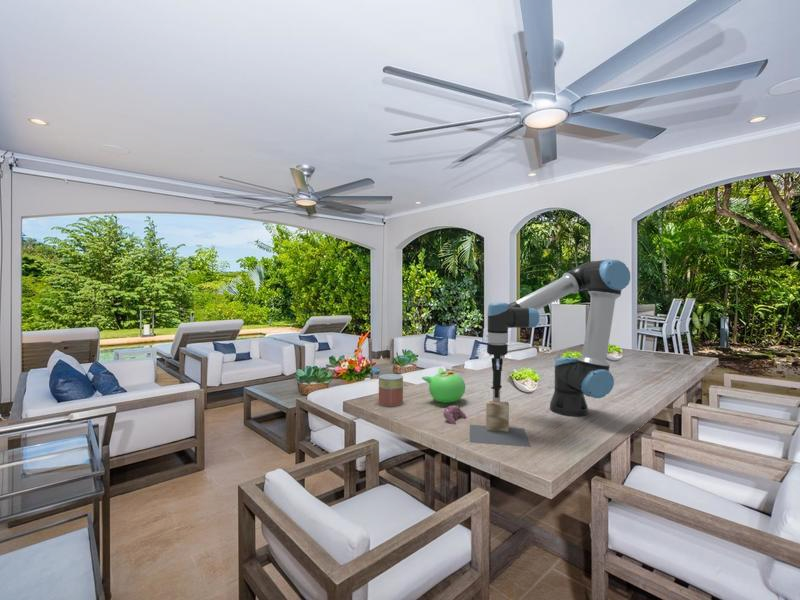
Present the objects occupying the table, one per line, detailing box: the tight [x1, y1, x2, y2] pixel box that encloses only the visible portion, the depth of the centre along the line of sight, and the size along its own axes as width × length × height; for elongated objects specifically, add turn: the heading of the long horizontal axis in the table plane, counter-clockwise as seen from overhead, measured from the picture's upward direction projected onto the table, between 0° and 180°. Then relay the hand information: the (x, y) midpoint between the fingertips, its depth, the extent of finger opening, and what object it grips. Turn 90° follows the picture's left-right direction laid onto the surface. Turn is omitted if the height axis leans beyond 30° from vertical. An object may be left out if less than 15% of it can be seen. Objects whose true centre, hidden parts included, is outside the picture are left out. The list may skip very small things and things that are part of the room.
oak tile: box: [485, 400, 510, 432], centre depth 144 cm, size 8×3×10 cm, turn 80°
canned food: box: [378, 373, 404, 407], centre depth 179 cm, size 11×11×12 cm
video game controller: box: [442, 405, 467, 425], centre depth 155 cm, size 10×5×7 cm, turn 141°
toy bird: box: [421, 367, 466, 404], centre depth 180 cm, size 18×17×15 cm
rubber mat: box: [469, 424, 532, 448], centre depth 139 cm, size 20×17×1 cm
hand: (496, 405), depth 148 cm, fingers closed
